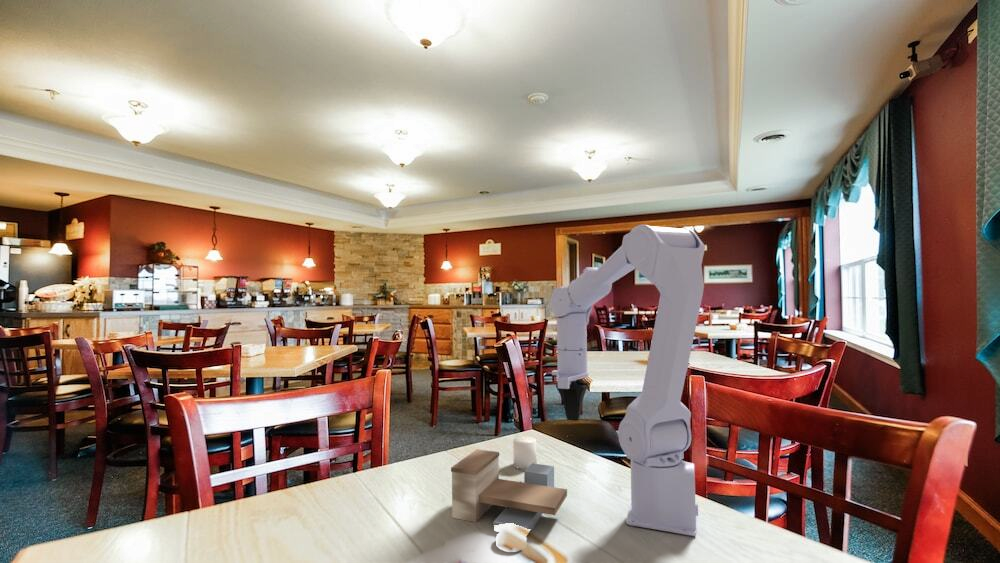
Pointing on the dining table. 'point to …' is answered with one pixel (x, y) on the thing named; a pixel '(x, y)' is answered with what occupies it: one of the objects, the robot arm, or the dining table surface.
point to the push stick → (523, 517)
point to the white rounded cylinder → (524, 452)
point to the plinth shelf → (496, 489)
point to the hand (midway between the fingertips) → (573, 419)
